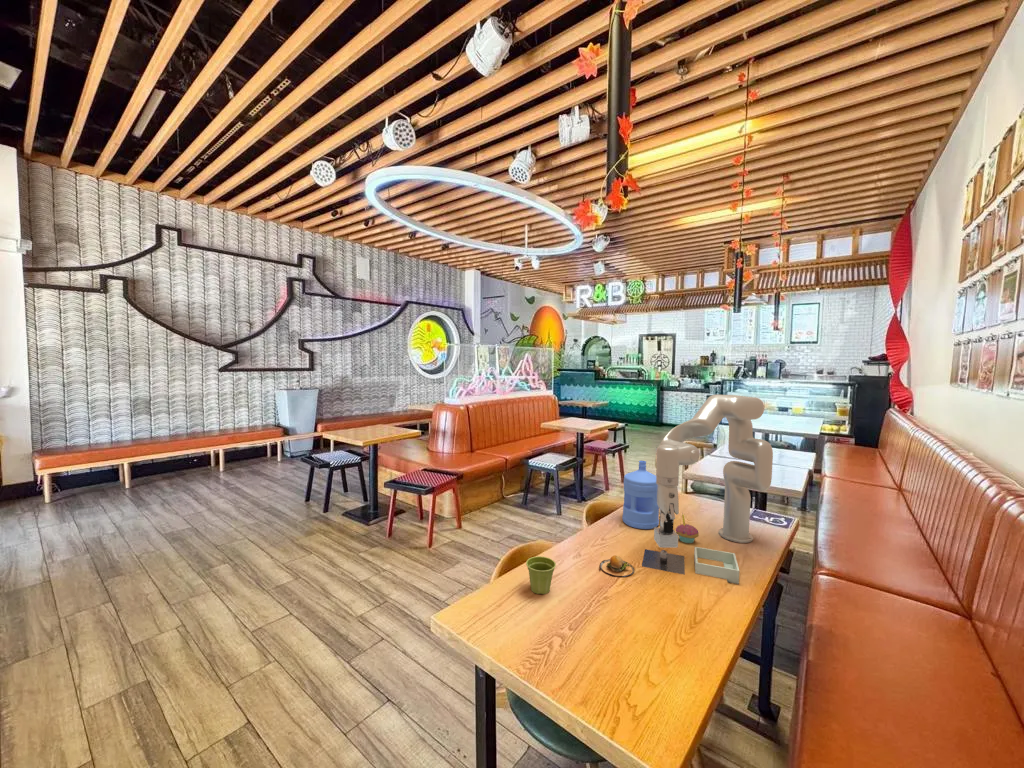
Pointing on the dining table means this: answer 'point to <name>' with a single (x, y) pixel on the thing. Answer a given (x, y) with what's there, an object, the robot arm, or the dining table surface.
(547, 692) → the dining table surface
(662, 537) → the grey piece
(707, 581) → the dining table surface
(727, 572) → the bin
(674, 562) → the stud block
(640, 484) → the water jug
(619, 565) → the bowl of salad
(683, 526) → the cupcake
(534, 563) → the plant pot
